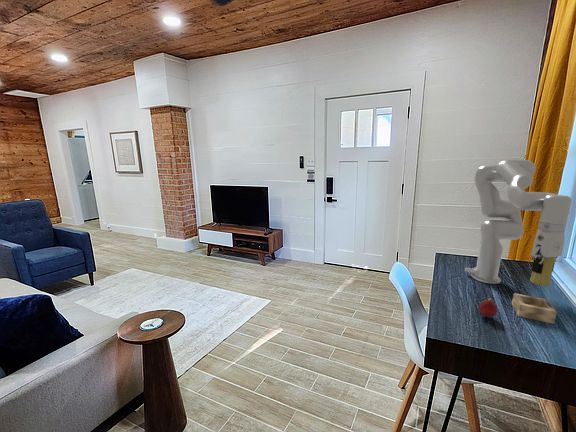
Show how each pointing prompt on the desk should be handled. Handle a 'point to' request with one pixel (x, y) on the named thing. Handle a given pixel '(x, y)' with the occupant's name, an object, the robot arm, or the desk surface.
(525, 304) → the wooden box
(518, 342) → the desk surface
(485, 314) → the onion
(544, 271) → the vase
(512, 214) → the robot arm
